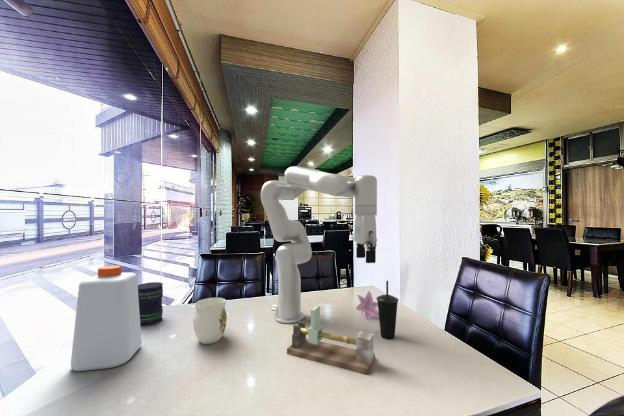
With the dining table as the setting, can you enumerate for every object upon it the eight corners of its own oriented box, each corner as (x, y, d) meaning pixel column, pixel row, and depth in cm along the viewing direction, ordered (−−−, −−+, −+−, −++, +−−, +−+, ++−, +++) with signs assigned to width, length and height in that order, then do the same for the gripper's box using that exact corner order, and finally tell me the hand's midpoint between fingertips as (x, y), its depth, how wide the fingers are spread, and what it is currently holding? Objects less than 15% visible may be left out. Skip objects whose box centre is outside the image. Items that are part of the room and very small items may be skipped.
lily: (350, 322, 110) (359, 305, 107) (348, 303, 121) (356, 286, 118) (377, 330, 111) (387, 314, 107) (373, 310, 122) (381, 294, 118)
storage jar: (129, 324, 107) (129, 287, 107) (151, 315, 116) (152, 281, 116) (145, 328, 103) (146, 289, 104) (168, 318, 112) (168, 283, 113)
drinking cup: (400, 342, 91) (399, 284, 91) (377, 340, 92) (376, 283, 93) (397, 332, 98) (396, 278, 99) (376, 331, 100) (375, 277, 100)
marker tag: (308, 342, 83) (308, 309, 84) (314, 336, 87) (314, 304, 88) (317, 344, 82) (317, 310, 82) (322, 338, 86) (322, 306, 86)
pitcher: (232, 326, 104) (232, 291, 104) (220, 350, 86) (220, 307, 86) (203, 327, 103) (204, 292, 103) (185, 351, 85) (185, 308, 86)
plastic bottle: (145, 343, 91) (146, 261, 92) (124, 368, 76) (125, 270, 77) (95, 348, 88) (96, 263, 88) (62, 375, 73) (64, 273, 74)
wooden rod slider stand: (286, 353, 84) (286, 326, 84) (300, 341, 92) (300, 316, 92) (368, 374, 73) (367, 343, 73) (375, 358, 81) (374, 330, 81)
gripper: (348, 211, 100) (347, 256, 100) (364, 211, 83) (363, 265, 83) (367, 211, 101) (366, 255, 101) (386, 211, 84) (386, 264, 84)
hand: (365, 260), depth 92 cm, fingers open, 9 cm apart
